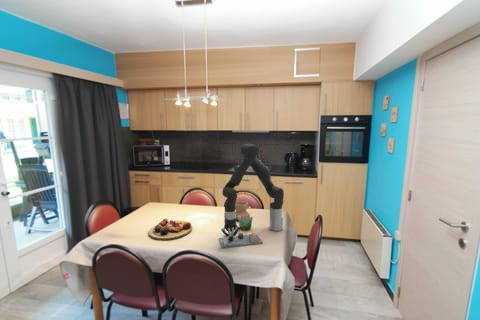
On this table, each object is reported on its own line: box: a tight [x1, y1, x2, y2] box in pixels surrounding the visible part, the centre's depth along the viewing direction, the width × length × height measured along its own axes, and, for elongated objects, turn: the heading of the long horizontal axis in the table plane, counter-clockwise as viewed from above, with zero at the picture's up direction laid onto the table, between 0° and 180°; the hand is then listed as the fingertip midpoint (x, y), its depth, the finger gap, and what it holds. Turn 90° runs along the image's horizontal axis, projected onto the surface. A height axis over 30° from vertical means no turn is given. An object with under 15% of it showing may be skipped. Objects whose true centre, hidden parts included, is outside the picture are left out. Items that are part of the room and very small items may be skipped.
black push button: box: [237, 232, 244, 239], centre depth 165 cm, size 4×4×2 cm
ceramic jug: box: [235, 200, 251, 221], centre depth 201 cm, size 18×14×14 cm
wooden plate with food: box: [148, 218, 193, 241], centre depth 179 cm, size 32×32×8 cm
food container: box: [238, 215, 254, 231], centre depth 181 cm, size 12×6×10 cm, turn 66°
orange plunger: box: [250, 230, 258, 237], centre depth 161 cm, size 4×4×5 cm
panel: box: [218, 233, 263, 249], centre depth 162 cm, size 28×13×4 cm, turn 103°
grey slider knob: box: [222, 234, 227, 244], centre depth 157 cm, size 2×4×5 cm, turn 13°
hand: (230, 241), depth 158 cm, fingers closed
